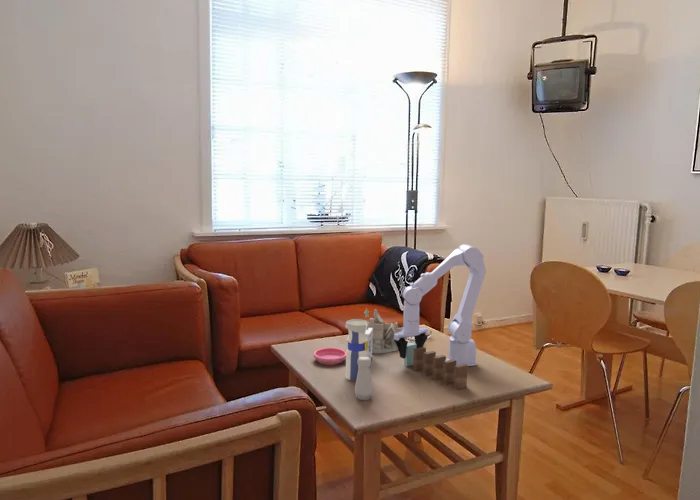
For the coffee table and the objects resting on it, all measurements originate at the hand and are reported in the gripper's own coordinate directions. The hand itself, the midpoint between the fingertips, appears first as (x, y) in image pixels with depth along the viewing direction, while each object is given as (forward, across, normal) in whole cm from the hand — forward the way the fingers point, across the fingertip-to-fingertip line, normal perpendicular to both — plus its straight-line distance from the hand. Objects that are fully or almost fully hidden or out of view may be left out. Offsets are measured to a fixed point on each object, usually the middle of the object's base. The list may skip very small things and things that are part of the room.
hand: (410, 355), depth 195 cm
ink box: (+4, +12, -13) cm, 18 cm away
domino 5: (+3, 0, +20) cm, 20 cm away
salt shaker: (+3, +31, +14) cm, 34 cm away
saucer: (+4, +22, -20) cm, 30 cm away
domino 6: (+3, 0, +25) cm, 25 cm away
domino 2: (+3, 0, +5) cm, 6 cm away
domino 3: (+3, 0, +10) cm, 11 cm away
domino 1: (+3, 0, 0) cm, 3 cm away
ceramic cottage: (+4, -4, -21) cm, 21 cm away
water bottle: (+3, +23, -1) cm, 23 cm away
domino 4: (+3, 0, +15) cm, 15 cm away
